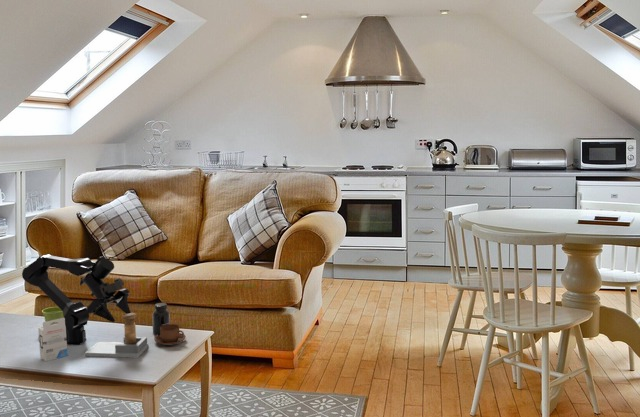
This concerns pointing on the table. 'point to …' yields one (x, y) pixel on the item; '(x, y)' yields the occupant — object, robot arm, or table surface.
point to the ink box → (53, 340)
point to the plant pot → (52, 314)
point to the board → (118, 348)
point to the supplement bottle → (160, 317)
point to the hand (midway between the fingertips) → (122, 318)
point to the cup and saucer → (170, 335)
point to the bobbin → (130, 328)
